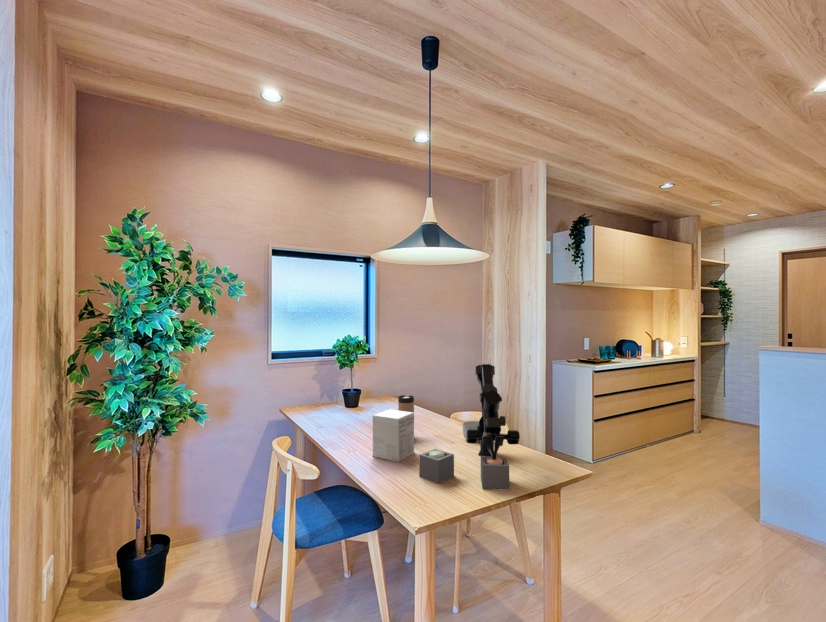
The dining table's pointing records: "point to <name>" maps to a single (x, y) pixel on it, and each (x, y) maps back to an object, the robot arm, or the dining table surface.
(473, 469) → the dining table surface
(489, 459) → the terracotta button
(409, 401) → the travel mug
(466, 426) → the teacup
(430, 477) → the grey button housing
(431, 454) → the green button
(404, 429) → the supplement box
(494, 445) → the robot arm
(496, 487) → the terracotta button housing
